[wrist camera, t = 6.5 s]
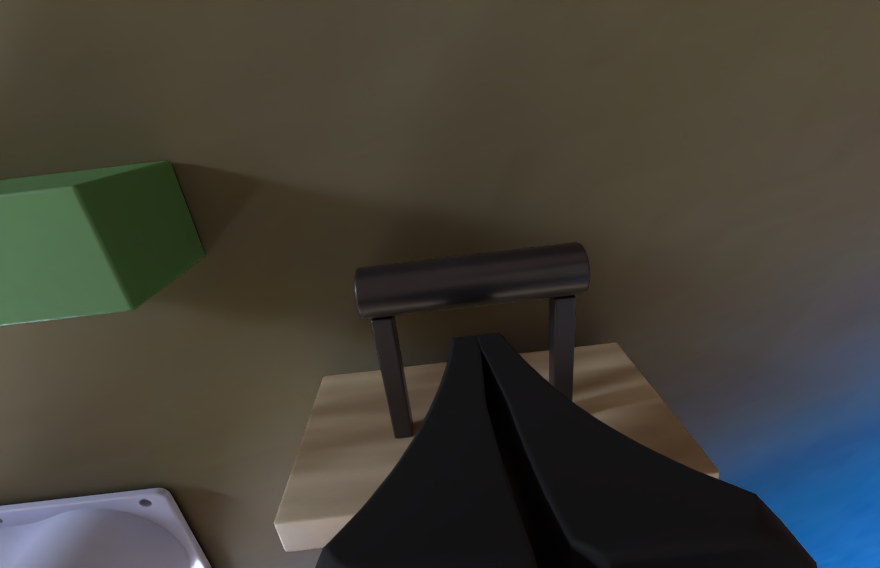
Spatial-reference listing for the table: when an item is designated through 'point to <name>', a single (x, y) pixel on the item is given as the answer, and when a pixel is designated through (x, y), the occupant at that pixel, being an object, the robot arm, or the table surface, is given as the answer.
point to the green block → (91, 241)
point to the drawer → (413, 388)
